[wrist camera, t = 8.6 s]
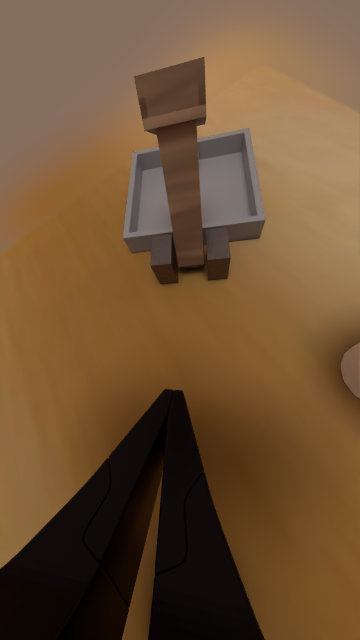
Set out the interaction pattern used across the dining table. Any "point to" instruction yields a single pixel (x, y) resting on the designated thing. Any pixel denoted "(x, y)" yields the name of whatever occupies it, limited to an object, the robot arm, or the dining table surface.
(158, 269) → the lever stand
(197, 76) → the lever
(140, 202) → the tray
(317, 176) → the dining table surface
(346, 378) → the foam cup
